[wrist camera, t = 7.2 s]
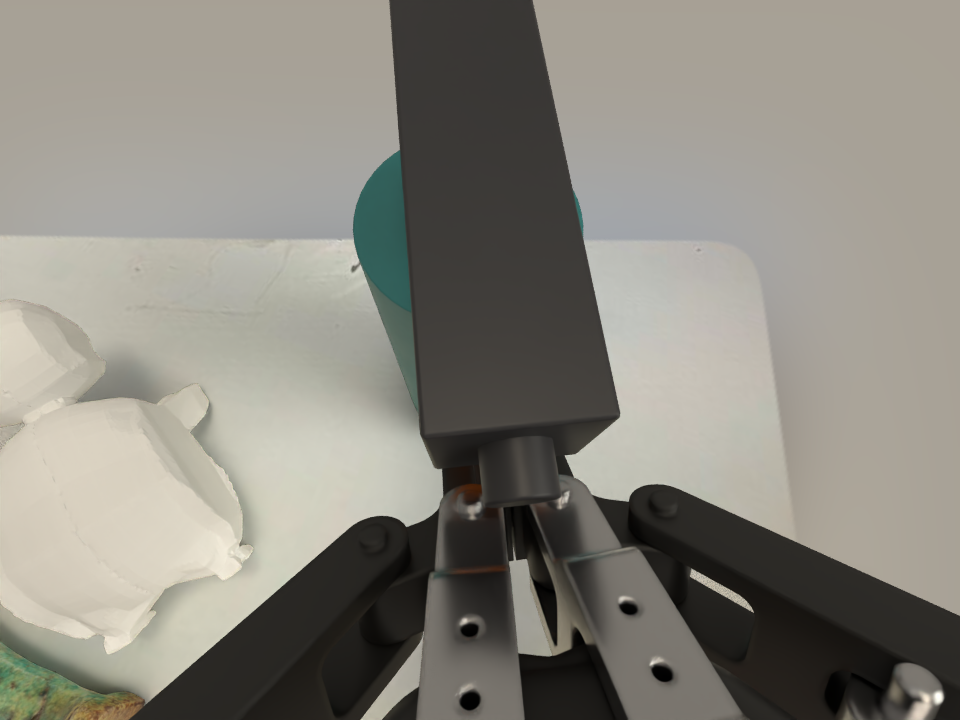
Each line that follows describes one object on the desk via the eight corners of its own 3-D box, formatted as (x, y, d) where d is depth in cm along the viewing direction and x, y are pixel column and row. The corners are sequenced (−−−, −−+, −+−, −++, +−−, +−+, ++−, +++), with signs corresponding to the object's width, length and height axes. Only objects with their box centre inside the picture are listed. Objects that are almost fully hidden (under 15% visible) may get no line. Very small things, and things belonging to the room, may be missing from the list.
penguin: (288, 515, 28) (133, 284, 27) (258, 573, 20) (32, 242, 18) (141, 611, 26) (-34, 368, 25) (39, 718, 18) (-230, 364, 17)
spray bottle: (407, 336, 29) (295, -51, 10) (517, 326, 29) (605, -65, 10) (420, 539, 25) (282, 524, 6) (546, 524, 25) (768, 469, 7)
